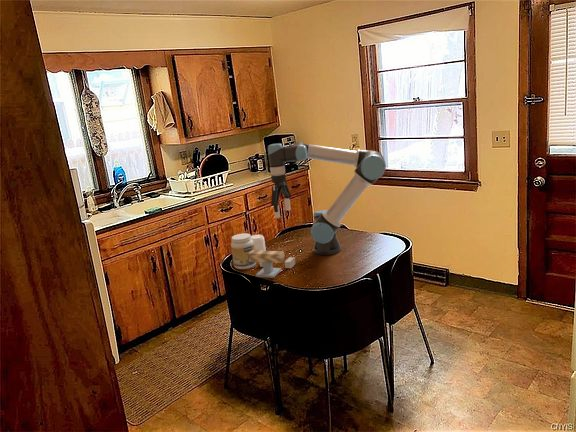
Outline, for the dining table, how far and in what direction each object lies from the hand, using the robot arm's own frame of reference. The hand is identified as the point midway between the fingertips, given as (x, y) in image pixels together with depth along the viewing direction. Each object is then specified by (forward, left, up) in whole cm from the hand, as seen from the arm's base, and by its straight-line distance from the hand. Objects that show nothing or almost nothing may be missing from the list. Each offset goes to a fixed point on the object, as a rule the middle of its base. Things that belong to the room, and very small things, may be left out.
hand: (283, 213), depth 244 cm
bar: (+4, +17, -20) cm, 26 cm away
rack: (+4, +6, -27) cm, 28 cm away
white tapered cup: (+20, -5, -27) cm, 34 cm away
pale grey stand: (+4, +17, -27) cm, 32 cm away
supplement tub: (+22, +9, -27) cm, 36 cm away
